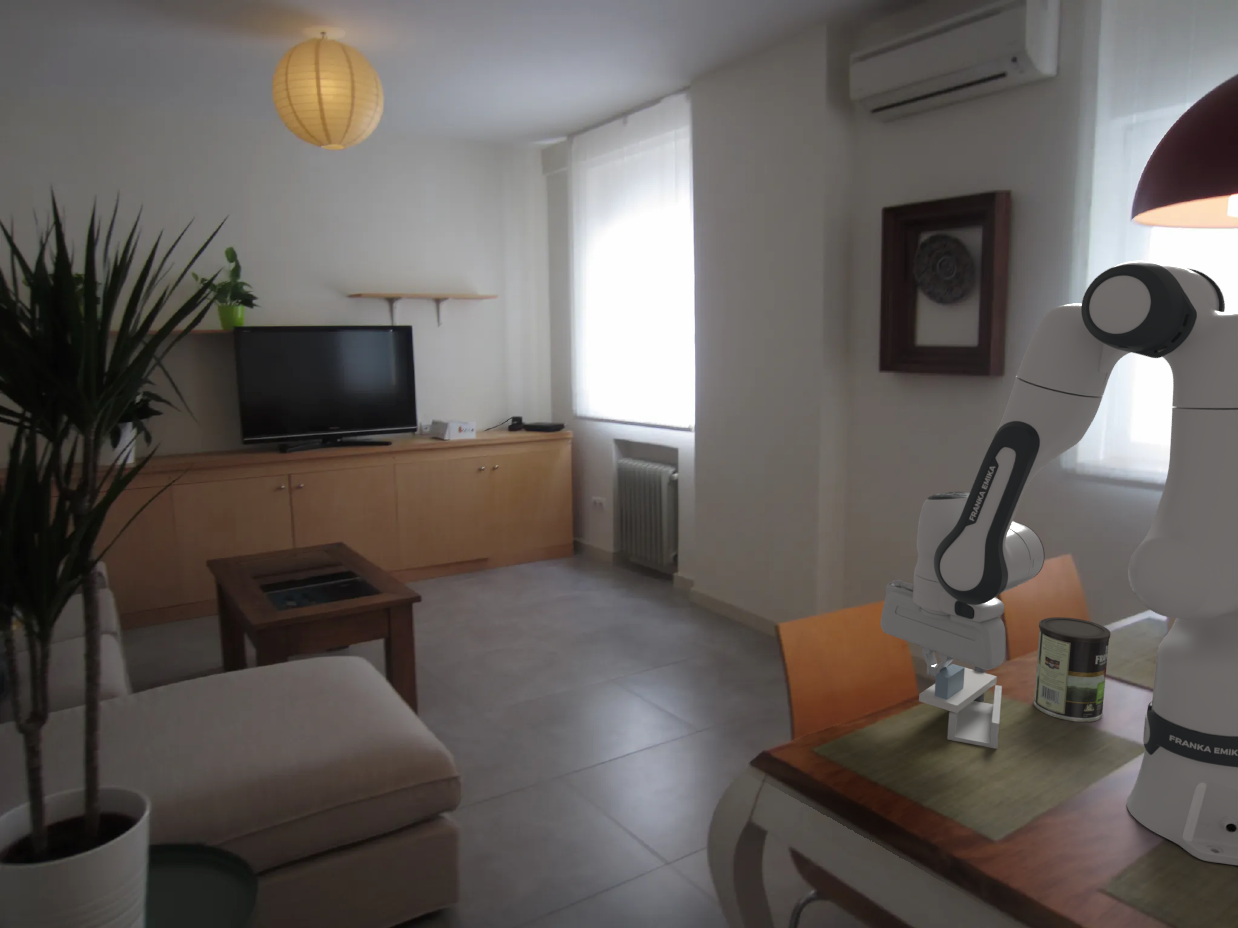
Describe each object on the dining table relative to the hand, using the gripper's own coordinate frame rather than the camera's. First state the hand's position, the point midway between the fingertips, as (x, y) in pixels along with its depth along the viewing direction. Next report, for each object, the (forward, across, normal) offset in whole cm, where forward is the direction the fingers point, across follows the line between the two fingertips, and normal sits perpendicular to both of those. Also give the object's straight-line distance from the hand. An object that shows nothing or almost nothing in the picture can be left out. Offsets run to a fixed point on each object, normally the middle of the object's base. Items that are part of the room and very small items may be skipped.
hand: (936, 676), depth 136 cm
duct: (+7, +5, +4) cm, 10 cm away
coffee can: (+7, +10, +22) cm, 25 cm away
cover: (+7, +2, +5) cm, 9 cm away
